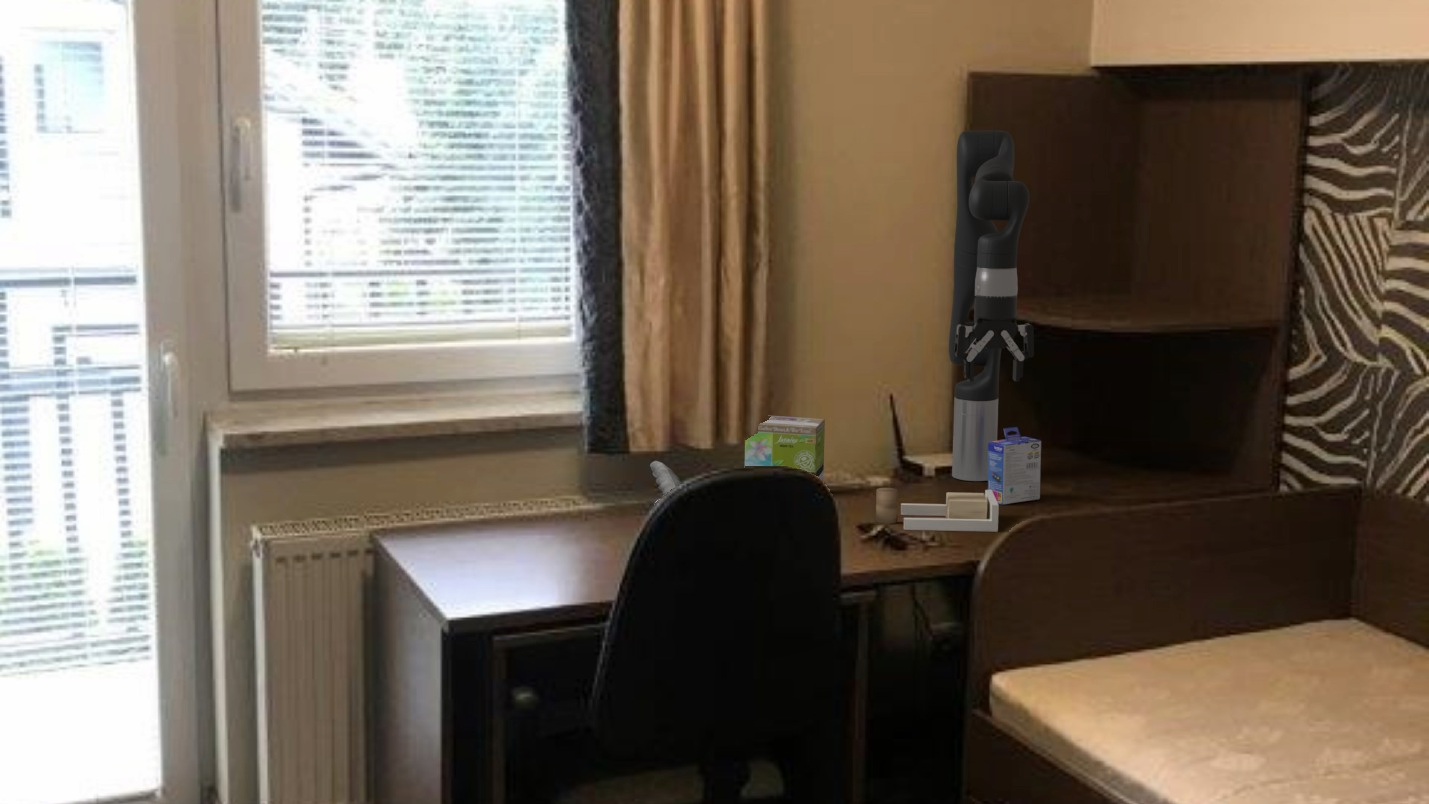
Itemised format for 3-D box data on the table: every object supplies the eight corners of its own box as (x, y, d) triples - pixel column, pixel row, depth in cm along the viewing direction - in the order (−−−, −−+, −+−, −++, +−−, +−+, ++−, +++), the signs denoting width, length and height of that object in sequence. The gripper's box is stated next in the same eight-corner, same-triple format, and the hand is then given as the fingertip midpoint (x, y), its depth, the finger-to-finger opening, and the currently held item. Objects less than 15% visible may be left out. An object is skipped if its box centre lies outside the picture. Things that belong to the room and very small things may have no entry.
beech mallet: (875, 516, 296) (875, 485, 295) (982, 518, 294) (983, 487, 293) (876, 525, 289) (877, 494, 288) (986, 527, 287) (987, 496, 286)
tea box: (743, 493, 315) (743, 422, 312) (753, 482, 324) (754, 413, 322) (816, 497, 311) (817, 425, 308) (824, 486, 321) (825, 416, 318)
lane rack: (900, 513, 298) (901, 488, 297) (990, 515, 297) (991, 489, 296) (903, 529, 286) (904, 503, 285) (997, 531, 285) (998, 505, 284)
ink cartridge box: (1022, 494, 314) (1025, 424, 312) (1041, 499, 309) (1044, 429, 307) (985, 500, 309) (987, 429, 307) (1003, 505, 305) (1005, 433, 302)
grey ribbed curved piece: (661, 530, 285) (661, 478, 283) (625, 509, 301) (624, 459, 299) (707, 525, 289) (707, 473, 287) (668, 504, 305) (668, 455, 303)
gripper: (1028, 290, 283) (1025, 377, 285) (952, 290, 281) (949, 378, 284) (1040, 294, 275) (1037, 384, 278) (962, 295, 274) (959, 385, 277)
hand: (993, 381), depth 281 cm, fingers open, 8 cm apart
